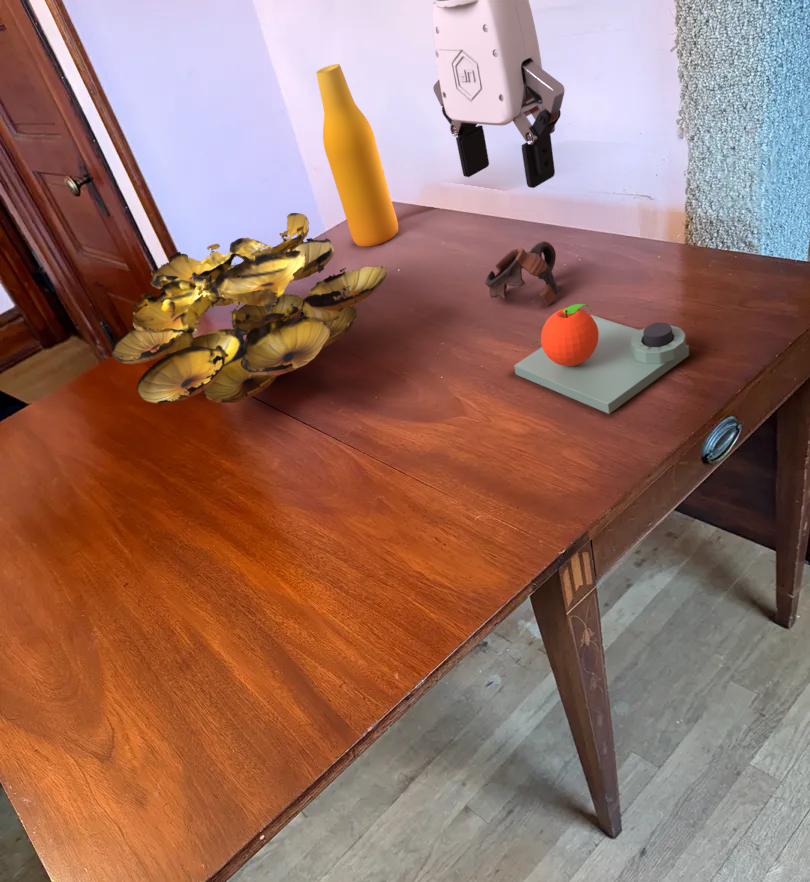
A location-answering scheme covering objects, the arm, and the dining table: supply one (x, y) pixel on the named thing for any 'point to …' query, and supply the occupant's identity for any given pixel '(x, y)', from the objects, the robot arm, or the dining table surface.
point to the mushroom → (240, 317)
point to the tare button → (657, 335)
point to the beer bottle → (355, 162)
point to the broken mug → (529, 261)
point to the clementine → (570, 336)
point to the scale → (607, 366)
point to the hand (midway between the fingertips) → (507, 176)
